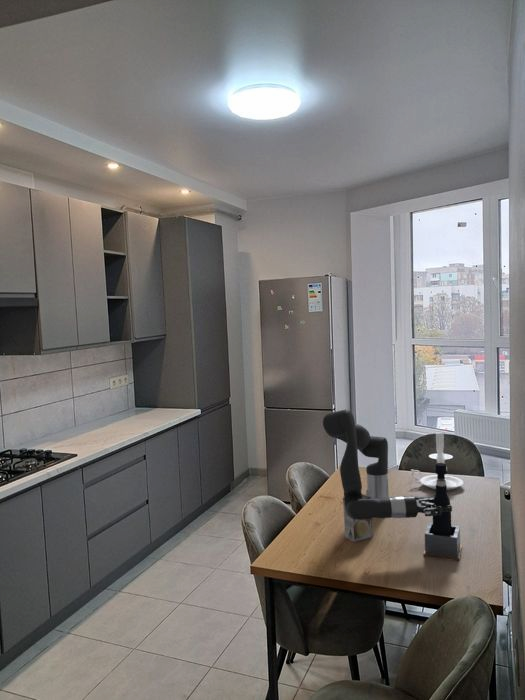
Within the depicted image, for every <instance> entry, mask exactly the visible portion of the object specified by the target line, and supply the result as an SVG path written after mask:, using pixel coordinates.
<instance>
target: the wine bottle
mask: <svg viewBox="0 0 525 700" xmlns="http://www.w3.org/2000/svg"><path fill="white" fill-rule="evenodd" d="M434 466H435V467H434V471H435V475H437V481H436V482H437V483H436V484H437V485H436V489H435V494H434V497H433V498H434V500H433V503H434V504H435V505H440V506H441V505H451V501H450V497H449V495H448V490H447V486H446V481H445V480H444V479H445V475H446V474H447V473H448V468H447V469H446V466H447V464H446V463H445V464H444V463H437V462H436V463H435V464H434ZM435 508H436V507H435ZM437 511H438V510H437ZM432 523H433V534H441V535H449V536H452V534H451V525H452V511H451V512H442V513H441V515H437V516H432Z"/></svg>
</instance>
